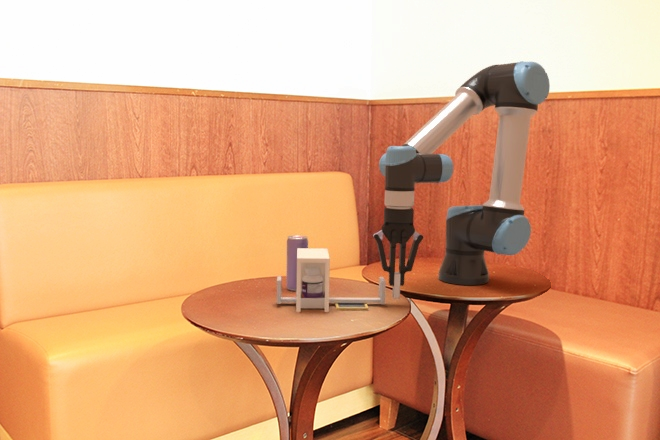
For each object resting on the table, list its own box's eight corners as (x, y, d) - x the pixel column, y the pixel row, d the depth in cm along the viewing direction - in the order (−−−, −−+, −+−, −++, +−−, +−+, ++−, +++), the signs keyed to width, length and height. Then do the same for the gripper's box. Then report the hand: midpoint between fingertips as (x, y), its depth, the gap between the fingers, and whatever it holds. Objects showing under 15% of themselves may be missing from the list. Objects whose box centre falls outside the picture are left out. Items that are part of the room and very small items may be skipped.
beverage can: (304, 292, 179) (305, 238, 177) (284, 290, 180) (284, 237, 178) (309, 287, 184) (310, 235, 182) (289, 286, 186) (290, 234, 184)
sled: (381, 300, 170) (382, 275, 170) (385, 308, 162) (386, 282, 161) (277, 299, 169) (277, 274, 168) (276, 308, 161) (276, 281, 160)
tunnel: (326, 298, 173) (327, 248, 171) (328, 312, 159) (329, 258, 157) (296, 297, 172) (297, 248, 170) (296, 312, 158) (296, 258, 157)
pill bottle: (301, 302, 168) (301, 265, 167) (321, 302, 168) (322, 265, 167) (302, 307, 163) (302, 270, 161) (323, 307, 163) (323, 270, 162)
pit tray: (364, 300, 171) (364, 297, 171) (368, 310, 161) (368, 307, 161) (334, 299, 171) (334, 297, 171) (336, 310, 161) (336, 307, 161)
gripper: (421, 205, 167) (418, 294, 170) (371, 205, 166) (369, 294, 170) (427, 209, 160) (423, 301, 163) (375, 208, 159) (372, 301, 162)
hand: (395, 297), depth 166 cm, fingers closed
